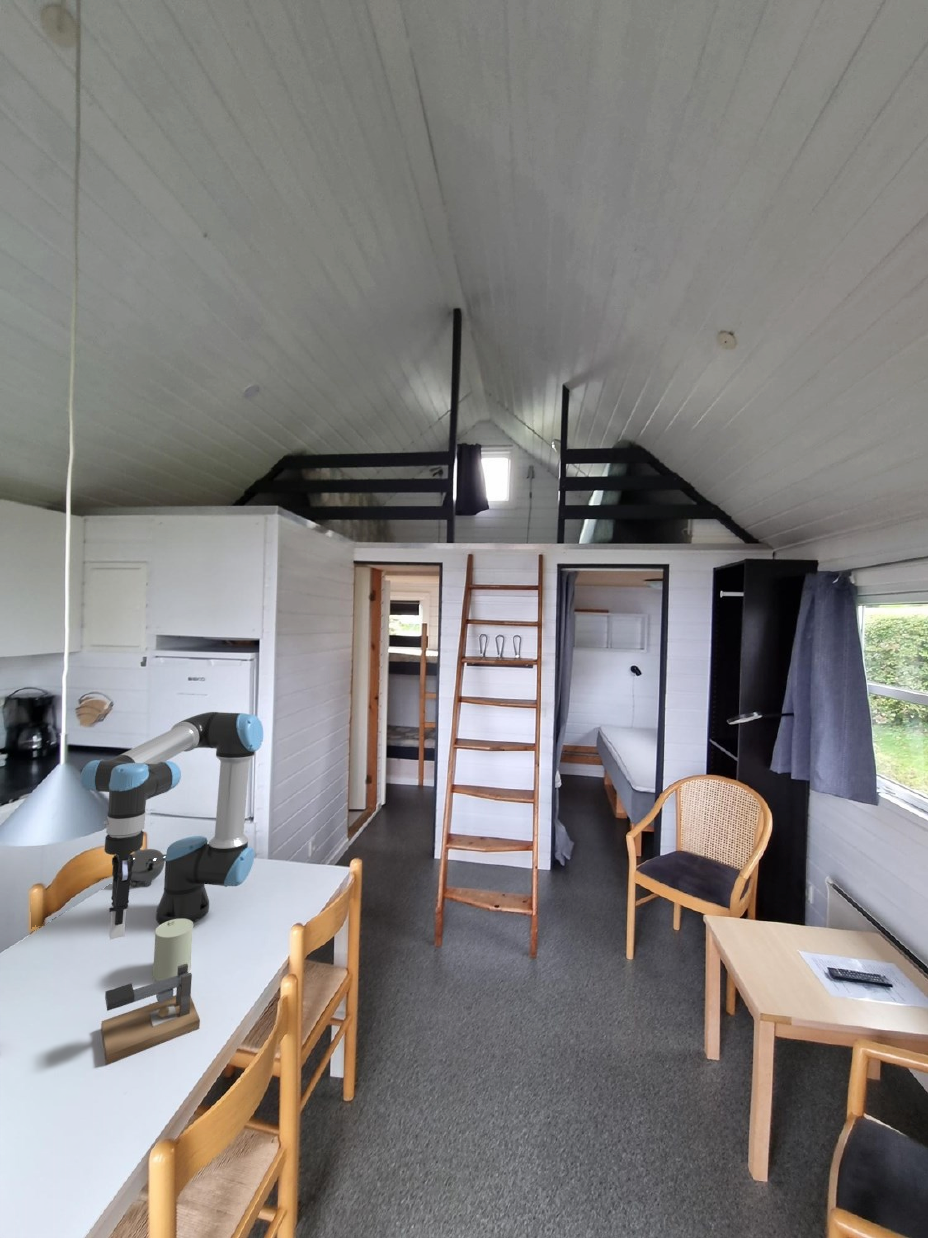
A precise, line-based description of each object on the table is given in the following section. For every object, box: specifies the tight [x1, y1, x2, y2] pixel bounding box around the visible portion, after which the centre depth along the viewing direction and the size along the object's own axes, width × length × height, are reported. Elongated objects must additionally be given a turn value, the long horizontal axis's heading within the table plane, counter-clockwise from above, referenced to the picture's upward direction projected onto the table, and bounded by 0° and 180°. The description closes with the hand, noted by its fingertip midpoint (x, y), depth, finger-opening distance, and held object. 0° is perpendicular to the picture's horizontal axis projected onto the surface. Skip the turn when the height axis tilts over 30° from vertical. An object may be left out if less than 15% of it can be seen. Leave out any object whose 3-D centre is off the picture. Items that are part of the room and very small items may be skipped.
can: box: [151, 919, 194, 982], centre depth 142 cm, size 9×9×12 cm
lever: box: [104, 971, 189, 1012], centre depth 121 cm, size 5×17×4 cm, turn 129°
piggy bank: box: [130, 848, 166, 888], centre depth 189 cm, size 11×15×12 cm
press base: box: [100, 963, 201, 1066], centre depth 122 cm, size 12×18×11 cm, turn 129°
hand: (116, 936), depth 122 cm, fingers closed
